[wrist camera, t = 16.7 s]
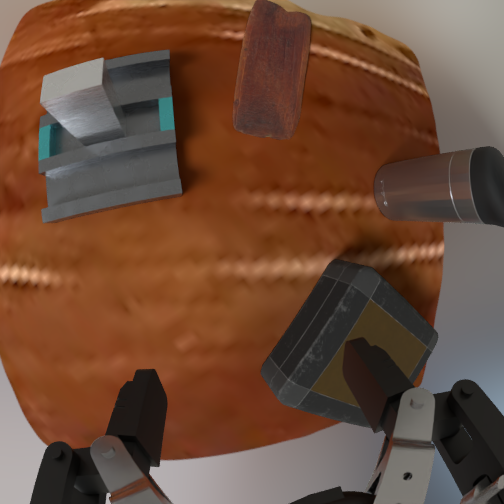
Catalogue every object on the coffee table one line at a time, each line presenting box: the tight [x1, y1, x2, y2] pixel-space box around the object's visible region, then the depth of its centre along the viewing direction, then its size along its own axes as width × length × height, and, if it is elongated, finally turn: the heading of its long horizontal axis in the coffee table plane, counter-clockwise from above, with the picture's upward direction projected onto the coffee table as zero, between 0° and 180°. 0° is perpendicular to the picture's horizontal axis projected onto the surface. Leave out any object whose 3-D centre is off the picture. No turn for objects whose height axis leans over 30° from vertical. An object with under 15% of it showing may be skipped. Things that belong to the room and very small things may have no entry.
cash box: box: [261, 259, 438, 428], centre depth 36 cm, size 25×20×8 cm
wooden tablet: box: [233, 0, 311, 140], centre depth 31 cm, size 27×10×2 cm, turn 170°
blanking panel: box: [40, 58, 126, 147], centre depth 19 cm, size 5×2×13 cm, turn 98°
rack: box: [39, 50, 182, 223], centre depth 25 cm, size 16×18×4 cm
